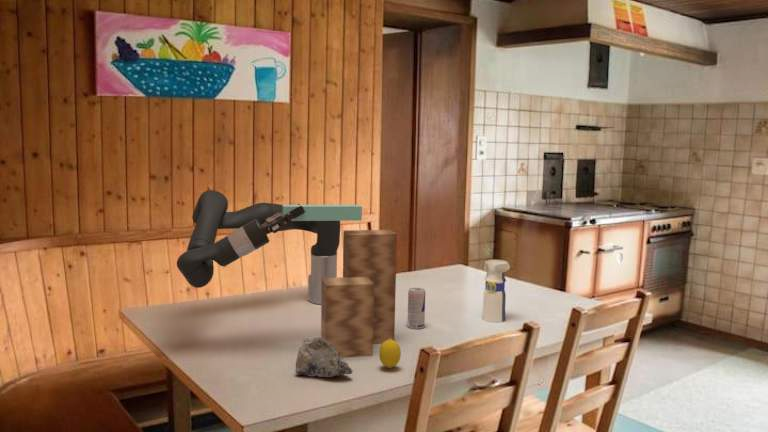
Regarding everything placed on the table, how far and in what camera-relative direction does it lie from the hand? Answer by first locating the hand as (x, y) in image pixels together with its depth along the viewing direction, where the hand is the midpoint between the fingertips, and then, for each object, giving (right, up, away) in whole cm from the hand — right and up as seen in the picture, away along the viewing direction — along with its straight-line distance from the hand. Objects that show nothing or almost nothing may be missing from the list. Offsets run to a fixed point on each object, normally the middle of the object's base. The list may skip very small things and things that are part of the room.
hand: (302, 207), depth 184 cm
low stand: (+12, -40, -1) cm, 42 cm away
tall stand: (+18, -39, +10) cm, 44 cm away
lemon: (+24, -42, -13) cm, 50 cm away
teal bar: (+5, -3, +2) cm, 7 cm away
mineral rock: (+7, -43, -20) cm, 48 cm away
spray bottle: (+59, -37, +34) cm, 77 cm away
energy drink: (+33, -37, +23) cm, 55 cm away
